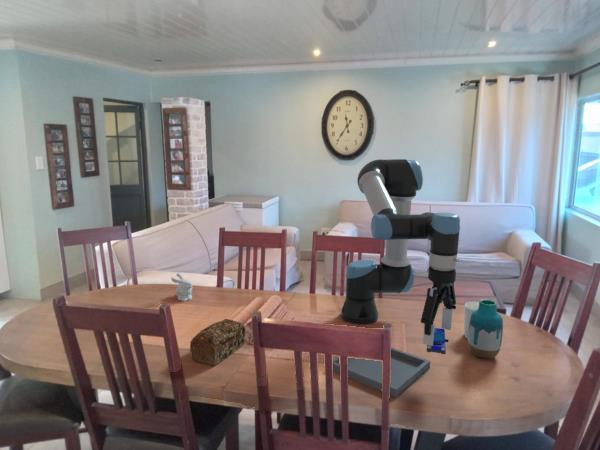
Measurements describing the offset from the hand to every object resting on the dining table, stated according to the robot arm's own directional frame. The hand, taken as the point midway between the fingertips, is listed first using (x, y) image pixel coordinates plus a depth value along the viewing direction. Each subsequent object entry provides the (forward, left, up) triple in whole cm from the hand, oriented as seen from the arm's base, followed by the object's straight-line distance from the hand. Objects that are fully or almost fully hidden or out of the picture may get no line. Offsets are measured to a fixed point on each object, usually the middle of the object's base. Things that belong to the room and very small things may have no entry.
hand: (437, 336), depth 132 cm
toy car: (0, 0, -3) cm, 4 cm away
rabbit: (-117, -8, -15) cm, 118 cm away
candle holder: (-2, +40, -15) cm, 43 cm away
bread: (-64, -31, -15) cm, 73 cm away
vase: (+5, +27, -15) cm, 31 cm away
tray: (-17, -4, -15) cm, 23 cm away
